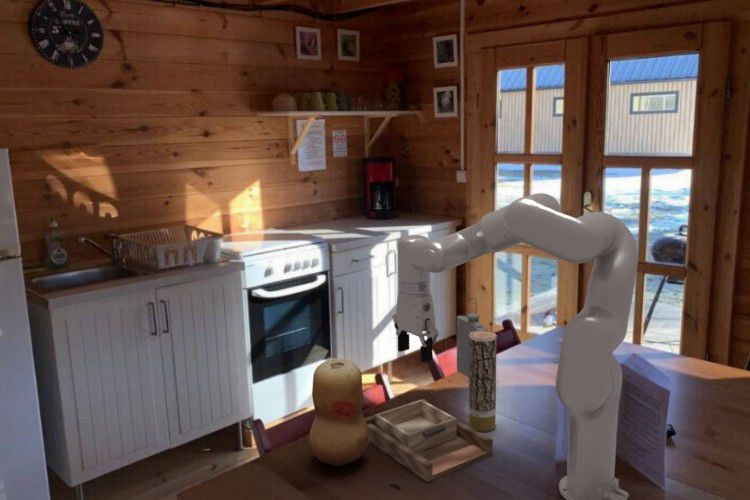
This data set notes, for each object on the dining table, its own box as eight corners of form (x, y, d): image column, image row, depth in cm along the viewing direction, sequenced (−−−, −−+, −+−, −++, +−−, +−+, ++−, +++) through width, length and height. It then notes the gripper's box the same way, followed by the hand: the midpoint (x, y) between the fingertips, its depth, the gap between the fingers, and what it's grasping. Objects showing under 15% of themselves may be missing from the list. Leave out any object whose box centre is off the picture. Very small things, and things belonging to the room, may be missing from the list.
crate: (459, 438, 162) (459, 419, 161) (411, 457, 154) (410, 437, 153) (421, 416, 175) (421, 399, 174) (375, 433, 166) (374, 414, 165)
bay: (492, 454, 157) (492, 435, 156) (427, 482, 146) (426, 461, 145) (424, 415, 178) (424, 398, 177) (362, 437, 167) (362, 419, 166)
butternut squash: (316, 481, 147) (311, 376, 142) (306, 453, 160) (301, 355, 155) (375, 471, 150) (373, 368, 145) (361, 444, 163) (358, 348, 158)
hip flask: (455, 368, 210) (455, 308, 206) (466, 366, 212) (466, 307, 208) (479, 387, 196) (479, 323, 192) (491, 385, 197) (491, 321, 193)
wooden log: (495, 433, 167) (496, 340, 162) (468, 431, 168) (468, 338, 163) (495, 421, 173) (496, 331, 168) (469, 420, 175) (470, 330, 170)
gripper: (449, 291, 152) (449, 362, 156) (405, 277, 166) (405, 343, 170) (424, 297, 148) (424, 370, 152) (380, 282, 162) (382, 349, 166)
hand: (414, 355), depth 161 cm, fingers open, 8 cm apart
